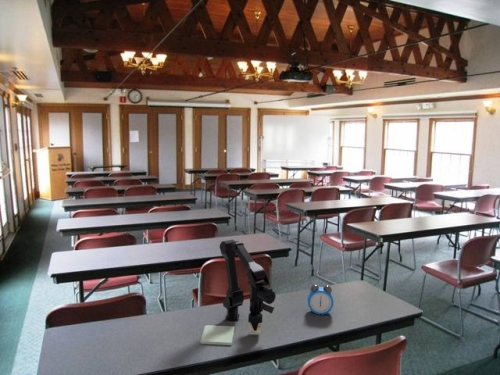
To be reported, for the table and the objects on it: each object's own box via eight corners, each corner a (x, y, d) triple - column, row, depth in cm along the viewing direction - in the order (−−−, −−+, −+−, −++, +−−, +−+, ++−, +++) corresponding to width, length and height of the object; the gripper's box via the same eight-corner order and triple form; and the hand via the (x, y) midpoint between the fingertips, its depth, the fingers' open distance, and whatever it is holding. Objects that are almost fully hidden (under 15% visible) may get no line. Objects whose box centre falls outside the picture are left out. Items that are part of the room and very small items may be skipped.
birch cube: (250, 326, 179) (250, 316, 179) (261, 327, 179) (261, 317, 178) (249, 332, 174) (250, 321, 174) (260, 332, 174) (261, 322, 174)
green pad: (205, 327, 182) (205, 325, 182) (234, 328, 182) (234, 326, 181) (200, 343, 168) (200, 341, 168) (231, 345, 168) (231, 342, 168)
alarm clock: (307, 314, 198) (308, 286, 196) (307, 308, 204) (308, 282, 202) (332, 316, 197) (334, 288, 194) (331, 310, 203) (333, 283, 200)
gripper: (274, 305, 165) (273, 339, 167) (273, 288, 183) (272, 318, 186) (248, 304, 165) (247, 338, 168) (250, 287, 184) (249, 317, 186)
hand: (255, 327), depth 177 cm, fingers closed on birch cube, 5 cm apart
